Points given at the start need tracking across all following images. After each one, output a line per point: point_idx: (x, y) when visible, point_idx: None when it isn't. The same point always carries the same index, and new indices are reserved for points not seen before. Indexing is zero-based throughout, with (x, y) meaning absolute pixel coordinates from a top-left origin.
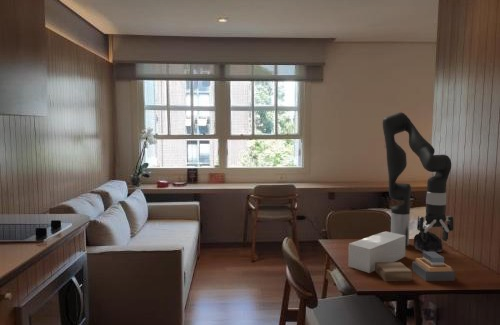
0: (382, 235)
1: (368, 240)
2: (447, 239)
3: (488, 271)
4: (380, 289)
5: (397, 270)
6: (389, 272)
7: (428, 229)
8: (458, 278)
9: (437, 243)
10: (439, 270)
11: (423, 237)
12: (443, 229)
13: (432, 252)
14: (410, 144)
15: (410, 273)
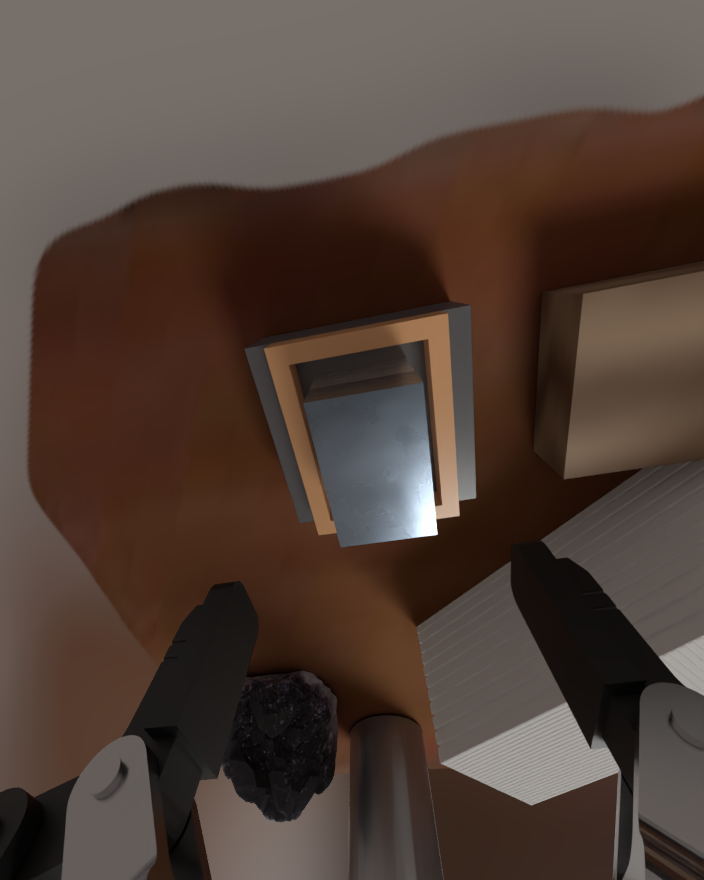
0: (601, 755)
1: None
2: (197, 606)
3: (59, 501)
4: None
5: (696, 297)
6: None
7: (642, 807)
8: (231, 381)
9: (241, 728)
10: (362, 327)
11: (595, 592)
12: (188, 827)
13: (362, 524)
14: None
15: (586, 290)
